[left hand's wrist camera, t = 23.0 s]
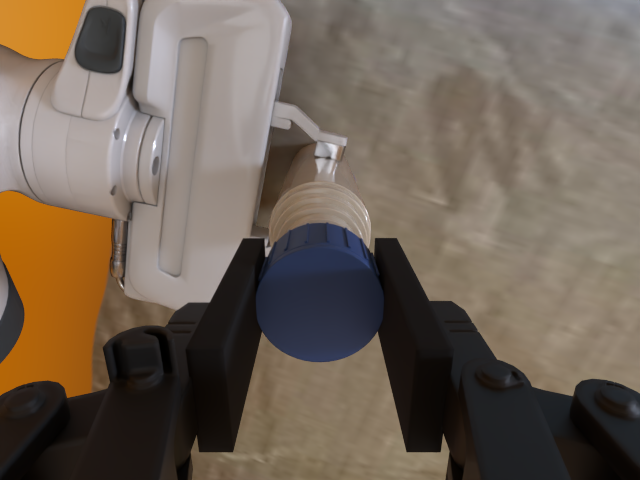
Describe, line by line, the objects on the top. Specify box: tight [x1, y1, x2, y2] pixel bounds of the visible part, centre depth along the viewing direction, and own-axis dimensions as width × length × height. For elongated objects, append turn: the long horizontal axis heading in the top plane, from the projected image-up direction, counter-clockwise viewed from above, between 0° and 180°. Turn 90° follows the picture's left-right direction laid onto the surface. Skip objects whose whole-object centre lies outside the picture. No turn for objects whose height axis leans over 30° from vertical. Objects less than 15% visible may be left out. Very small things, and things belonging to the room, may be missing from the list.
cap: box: [256, 222, 384, 362], centre depth 13 cm, size 4×4×2 cm
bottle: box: [269, 143, 371, 249], centre depth 23 cm, size 5×5×21 cm
